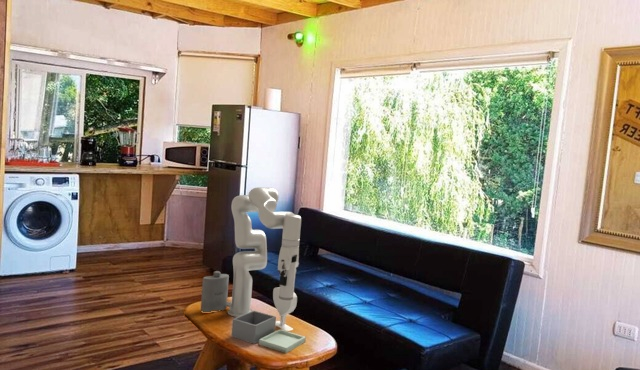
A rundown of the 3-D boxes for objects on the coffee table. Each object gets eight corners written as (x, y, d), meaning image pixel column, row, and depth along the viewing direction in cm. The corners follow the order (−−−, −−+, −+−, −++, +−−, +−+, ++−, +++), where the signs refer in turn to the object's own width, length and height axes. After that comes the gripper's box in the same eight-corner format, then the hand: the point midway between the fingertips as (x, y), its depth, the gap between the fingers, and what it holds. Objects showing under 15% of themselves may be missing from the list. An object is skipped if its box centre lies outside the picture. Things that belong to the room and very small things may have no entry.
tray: (258, 344, 217) (259, 339, 217) (279, 333, 231) (279, 329, 231) (286, 353, 210) (286, 348, 210) (305, 341, 224) (305, 336, 224)
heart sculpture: (295, 330, 237) (299, 293, 236) (287, 332, 234) (290, 294, 233) (278, 319, 249) (280, 284, 248) (269, 321, 246) (272, 285, 245)
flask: (205, 314, 247) (208, 275, 246) (198, 311, 251) (201, 272, 250) (229, 309, 259) (232, 271, 257) (222, 306, 263) (225, 268, 261)
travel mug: (295, 297, 221) (299, 253, 220) (289, 301, 215) (294, 255, 213) (282, 294, 223) (286, 250, 222) (276, 298, 217) (280, 253, 215)
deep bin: (231, 336, 223) (232, 319, 222) (252, 327, 236) (253, 310, 236) (254, 343, 217) (255, 325, 216) (274, 333, 231) (276, 316, 230)
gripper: (293, 239, 226) (290, 278, 228) (272, 244, 211) (268, 285, 213) (308, 241, 223) (304, 281, 224) (287, 247, 208) (283, 289, 209)
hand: (287, 283), depth 218 cm, fingers closed on travel mug, 6 cm apart
